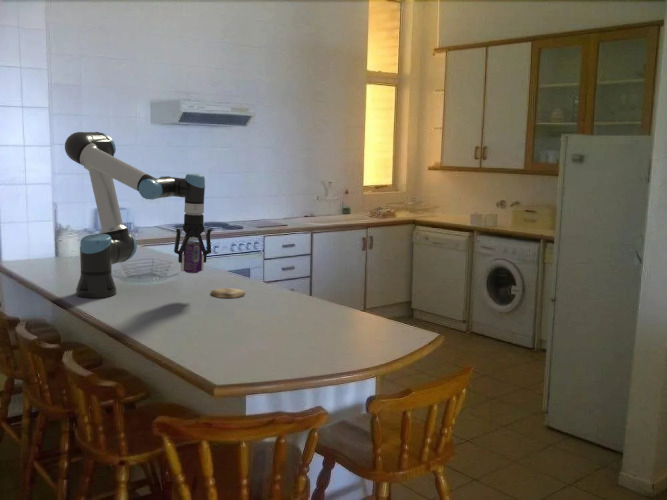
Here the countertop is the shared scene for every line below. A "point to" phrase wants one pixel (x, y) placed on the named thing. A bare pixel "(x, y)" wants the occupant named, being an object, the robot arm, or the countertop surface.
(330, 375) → the countertop surface
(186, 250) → the beverage can
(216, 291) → the coaster
